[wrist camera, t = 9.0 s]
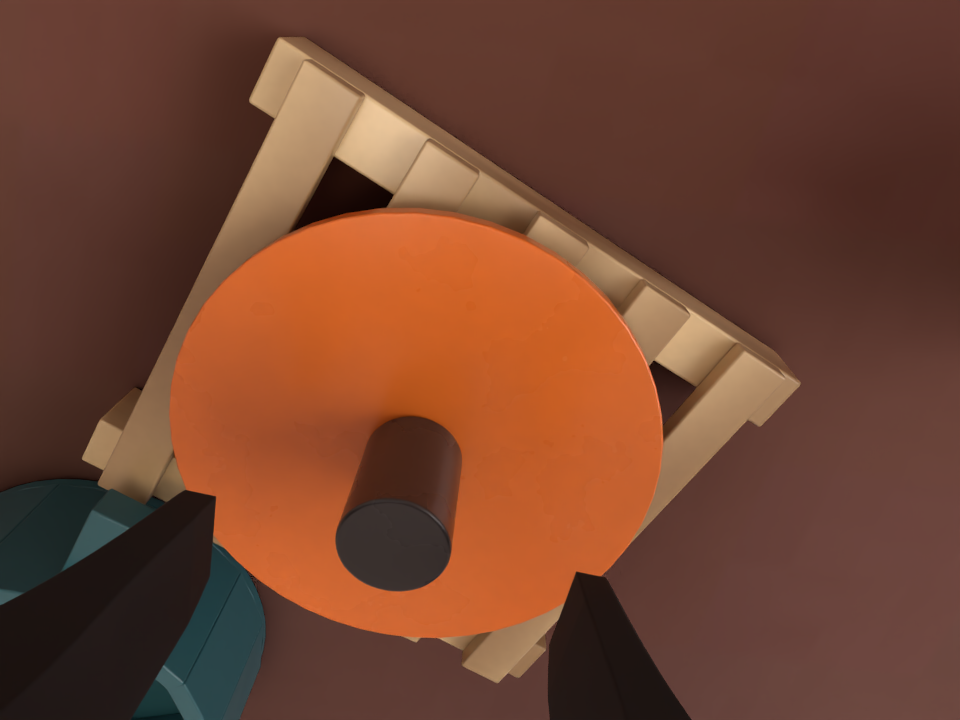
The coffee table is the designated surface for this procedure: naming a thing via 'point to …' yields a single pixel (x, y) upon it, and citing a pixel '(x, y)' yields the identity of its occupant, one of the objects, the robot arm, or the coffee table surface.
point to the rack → (466, 190)
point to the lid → (416, 422)
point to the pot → (212, 628)
